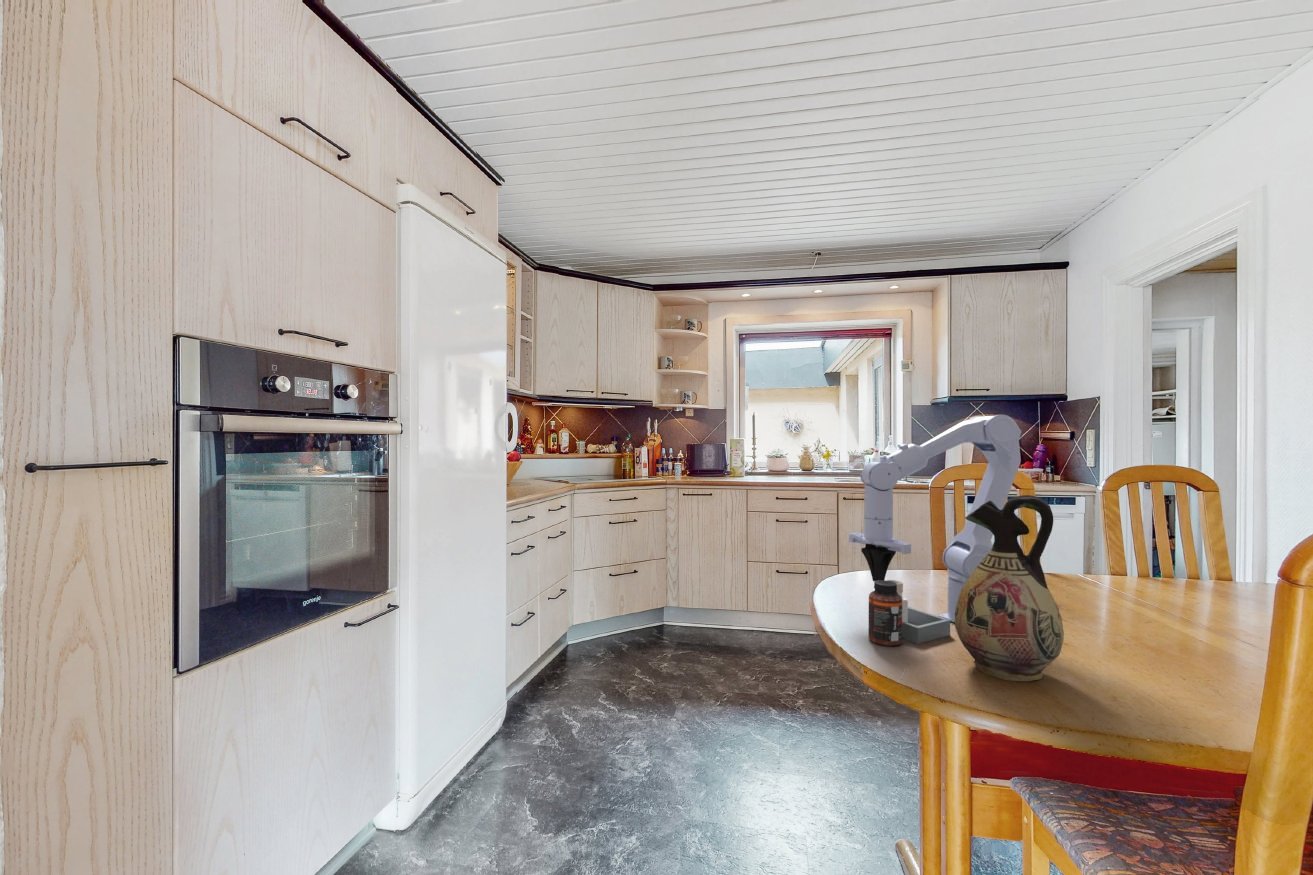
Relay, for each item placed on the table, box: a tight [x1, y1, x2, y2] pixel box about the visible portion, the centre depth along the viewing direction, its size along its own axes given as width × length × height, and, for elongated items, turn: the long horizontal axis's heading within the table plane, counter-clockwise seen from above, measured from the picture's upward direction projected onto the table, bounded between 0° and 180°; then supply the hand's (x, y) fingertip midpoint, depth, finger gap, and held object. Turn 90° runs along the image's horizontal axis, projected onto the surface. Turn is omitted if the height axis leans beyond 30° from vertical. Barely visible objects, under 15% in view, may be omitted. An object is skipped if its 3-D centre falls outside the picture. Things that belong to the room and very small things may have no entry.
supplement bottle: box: [867, 580, 903, 647], centre depth 106 cm, size 6×6×11 cm
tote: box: [902, 606, 951, 645], centre depth 111 cm, size 10×11×3 cm
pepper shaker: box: [886, 579, 909, 623], centre depth 113 cm, size 4×4×10 cm
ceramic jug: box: [954, 494, 1065, 682], centre depth 92 cm, size 17×15×30 cm
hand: (878, 581), depth 118 cm, fingers closed
